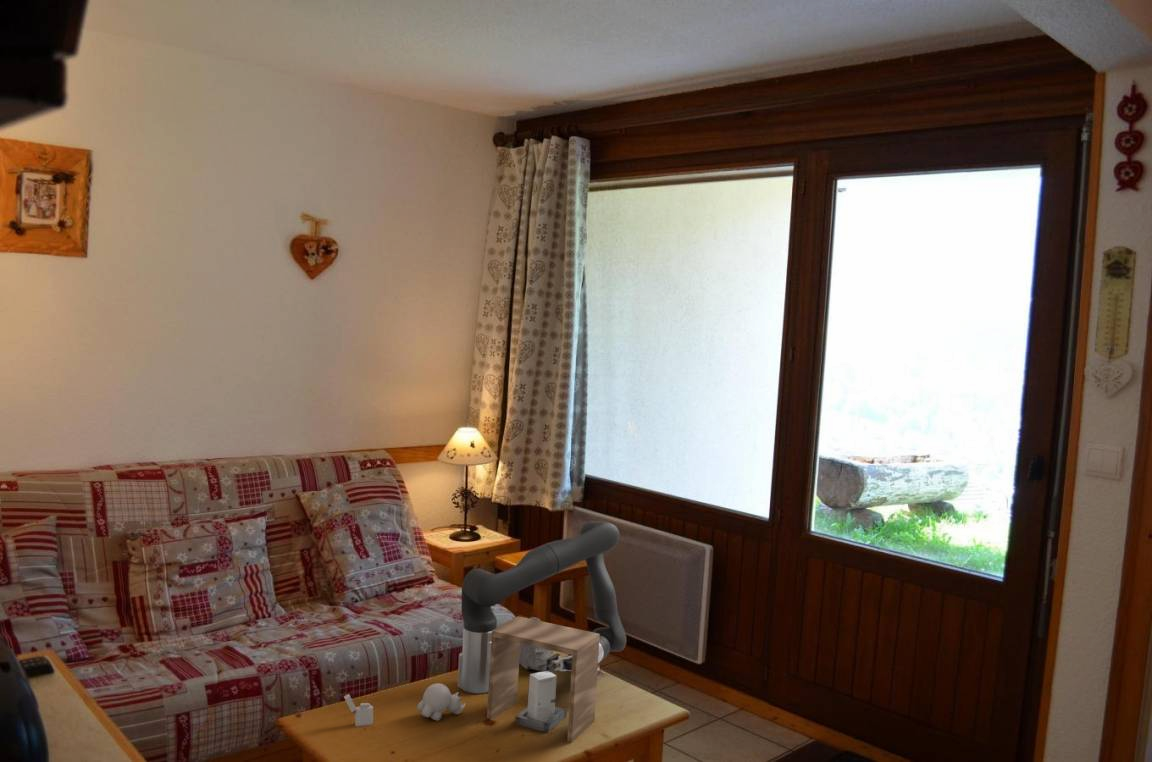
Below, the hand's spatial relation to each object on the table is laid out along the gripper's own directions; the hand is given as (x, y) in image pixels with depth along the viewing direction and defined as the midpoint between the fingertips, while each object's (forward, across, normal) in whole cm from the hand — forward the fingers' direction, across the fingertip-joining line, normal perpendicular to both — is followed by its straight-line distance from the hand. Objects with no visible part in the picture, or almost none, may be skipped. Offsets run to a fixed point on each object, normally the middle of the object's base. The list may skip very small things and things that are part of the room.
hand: (561, 674), depth 243 cm
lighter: (+38, -38, +9) cm, 55 cm away
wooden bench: (+11, 0, +8) cm, 14 cm away
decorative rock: (-20, -19, +9) cm, 29 cm away
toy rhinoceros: (+23, -23, +9) cm, 34 cm away
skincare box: (+11, 0, +9) cm, 14 cm away
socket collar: (+11, 0, +8) cm, 14 cm away
